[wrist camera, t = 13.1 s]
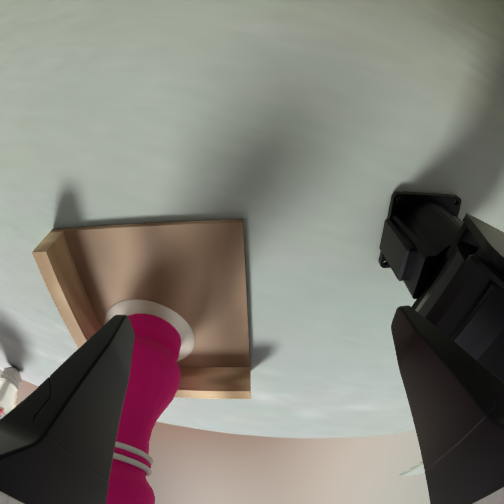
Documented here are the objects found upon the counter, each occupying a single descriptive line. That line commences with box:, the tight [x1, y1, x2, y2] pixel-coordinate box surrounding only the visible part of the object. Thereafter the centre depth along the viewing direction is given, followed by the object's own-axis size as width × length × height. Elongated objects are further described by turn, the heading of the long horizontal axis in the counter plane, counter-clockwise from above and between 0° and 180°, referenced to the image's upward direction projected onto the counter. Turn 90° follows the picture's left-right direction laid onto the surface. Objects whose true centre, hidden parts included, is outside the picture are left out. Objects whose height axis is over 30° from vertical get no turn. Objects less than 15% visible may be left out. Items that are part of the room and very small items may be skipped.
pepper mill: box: [106, 314, 181, 504], centre depth 20 cm, size 7×7×20 cm
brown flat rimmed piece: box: [32, 219, 251, 399], centre depth 26 cm, size 16×18×4 cm
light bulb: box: [0, 367, 21, 419], centre depth 30 cm, size 7×7×12 cm
